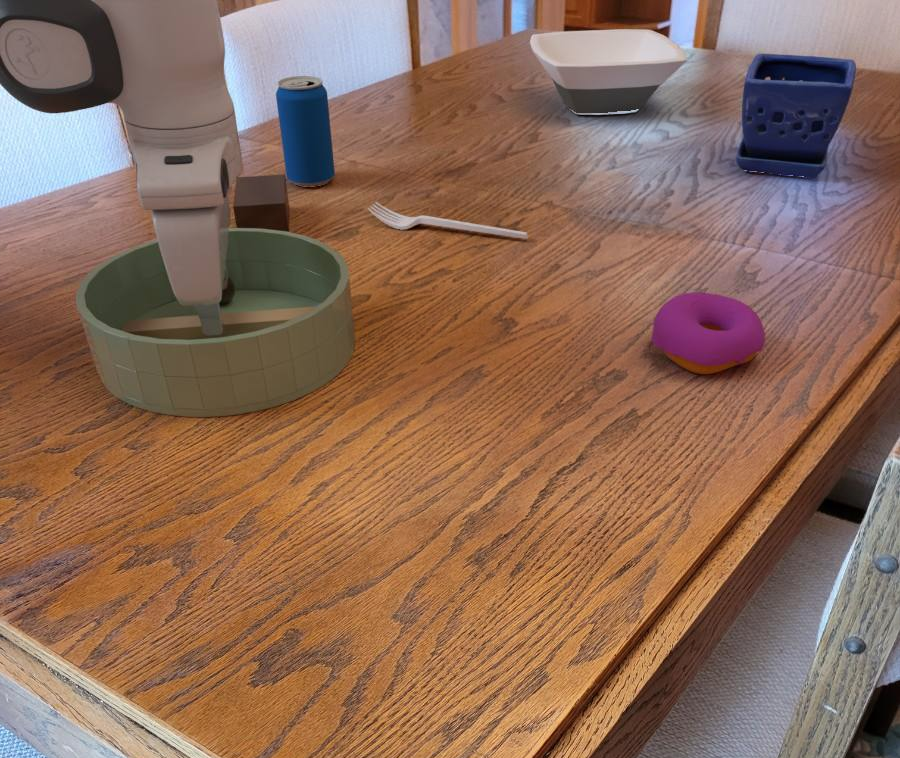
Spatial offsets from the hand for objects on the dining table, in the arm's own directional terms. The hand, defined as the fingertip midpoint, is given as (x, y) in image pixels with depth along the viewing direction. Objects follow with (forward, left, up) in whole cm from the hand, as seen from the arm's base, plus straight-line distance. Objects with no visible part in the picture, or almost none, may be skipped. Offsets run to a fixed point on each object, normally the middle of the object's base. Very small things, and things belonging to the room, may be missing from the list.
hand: (216, 308), depth 85 cm
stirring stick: (0, 0, -3) cm, 3 cm away
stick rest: (+3, +32, -4) cm, 32 cm away
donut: (+45, -8, -4) cm, 46 cm away
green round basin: (0, 0, -4) cm, 4 cm away
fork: (+25, +26, -4) cm, 37 cm away
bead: (0, +9, -2) cm, 9 cm away
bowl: (+56, +73, -4) cm, 92 cm away
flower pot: (+73, +41, -4) cm, 84 cm away
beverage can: (+9, +46, -4) cm, 47 cm away
